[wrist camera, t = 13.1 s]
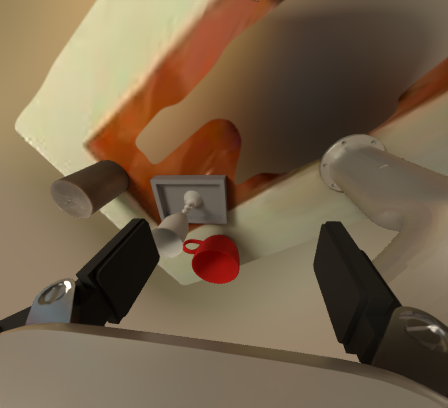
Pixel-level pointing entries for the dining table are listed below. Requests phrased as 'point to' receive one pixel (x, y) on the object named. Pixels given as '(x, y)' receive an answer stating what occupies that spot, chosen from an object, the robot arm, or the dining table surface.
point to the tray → (203, 184)
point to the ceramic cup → (215, 259)
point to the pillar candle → (89, 188)
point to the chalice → (175, 228)
